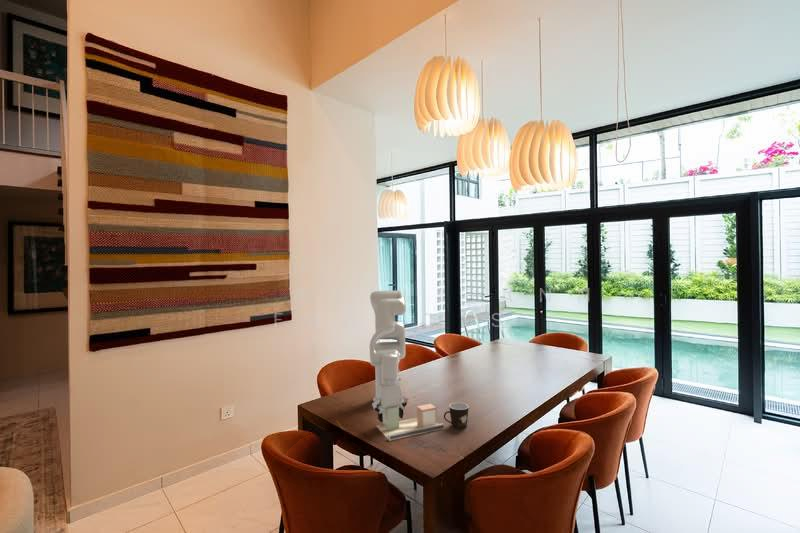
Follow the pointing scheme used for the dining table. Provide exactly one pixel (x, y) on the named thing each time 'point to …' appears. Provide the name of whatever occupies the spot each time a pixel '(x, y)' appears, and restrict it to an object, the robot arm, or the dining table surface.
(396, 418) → the green tin
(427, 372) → the dining table surface
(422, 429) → the shelf board
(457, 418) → the coffee mug
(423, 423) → the pink rectangular block
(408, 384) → the dining table surface
